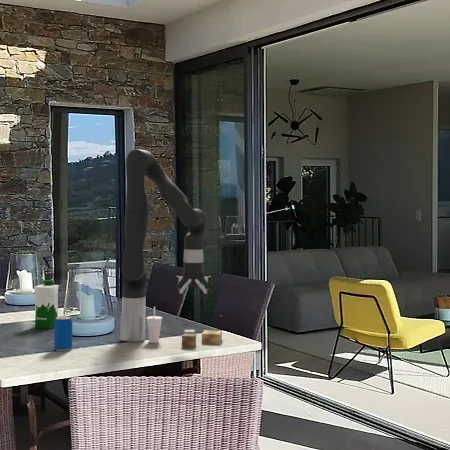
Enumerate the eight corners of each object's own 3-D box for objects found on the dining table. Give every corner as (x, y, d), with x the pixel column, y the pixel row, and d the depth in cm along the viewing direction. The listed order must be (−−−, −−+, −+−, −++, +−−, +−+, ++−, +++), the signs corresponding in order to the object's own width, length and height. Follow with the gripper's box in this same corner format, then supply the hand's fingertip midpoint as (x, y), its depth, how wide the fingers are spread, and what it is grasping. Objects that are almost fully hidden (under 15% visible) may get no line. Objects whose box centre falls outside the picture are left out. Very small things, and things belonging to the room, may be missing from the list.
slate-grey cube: (184, 341, 264) (184, 331, 264) (184, 339, 268) (184, 329, 268) (194, 341, 264) (195, 331, 264) (194, 339, 268) (194, 329, 268)
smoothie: (147, 344, 259) (147, 308, 258) (144, 340, 265) (144, 305, 264) (163, 343, 260) (163, 307, 260) (160, 339, 266) (160, 305, 266)
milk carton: (60, 325, 292) (60, 280, 291) (50, 329, 283) (50, 282, 282) (42, 324, 294) (42, 279, 293) (31, 328, 285) (31, 281, 284)
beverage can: (65, 346, 252) (65, 315, 252) (75, 349, 248) (76, 317, 248) (50, 349, 247) (50, 317, 247) (61, 352, 243) (61, 319, 243)
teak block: (201, 343, 262) (201, 333, 261) (204, 339, 268) (204, 330, 268) (219, 344, 261) (219, 334, 260) (221, 340, 268) (221, 330, 267)
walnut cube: (181, 347, 254) (181, 335, 254) (184, 345, 259) (184, 333, 258) (193, 348, 253) (193, 336, 253) (195, 345, 258) (196, 334, 258)
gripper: (212, 260, 260) (212, 301, 260) (175, 259, 260) (175, 301, 260) (211, 262, 252) (211, 304, 253) (174, 261, 252) (173, 304, 253)
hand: (193, 303), depth 256 cm, fingers open, 8 cm apart
